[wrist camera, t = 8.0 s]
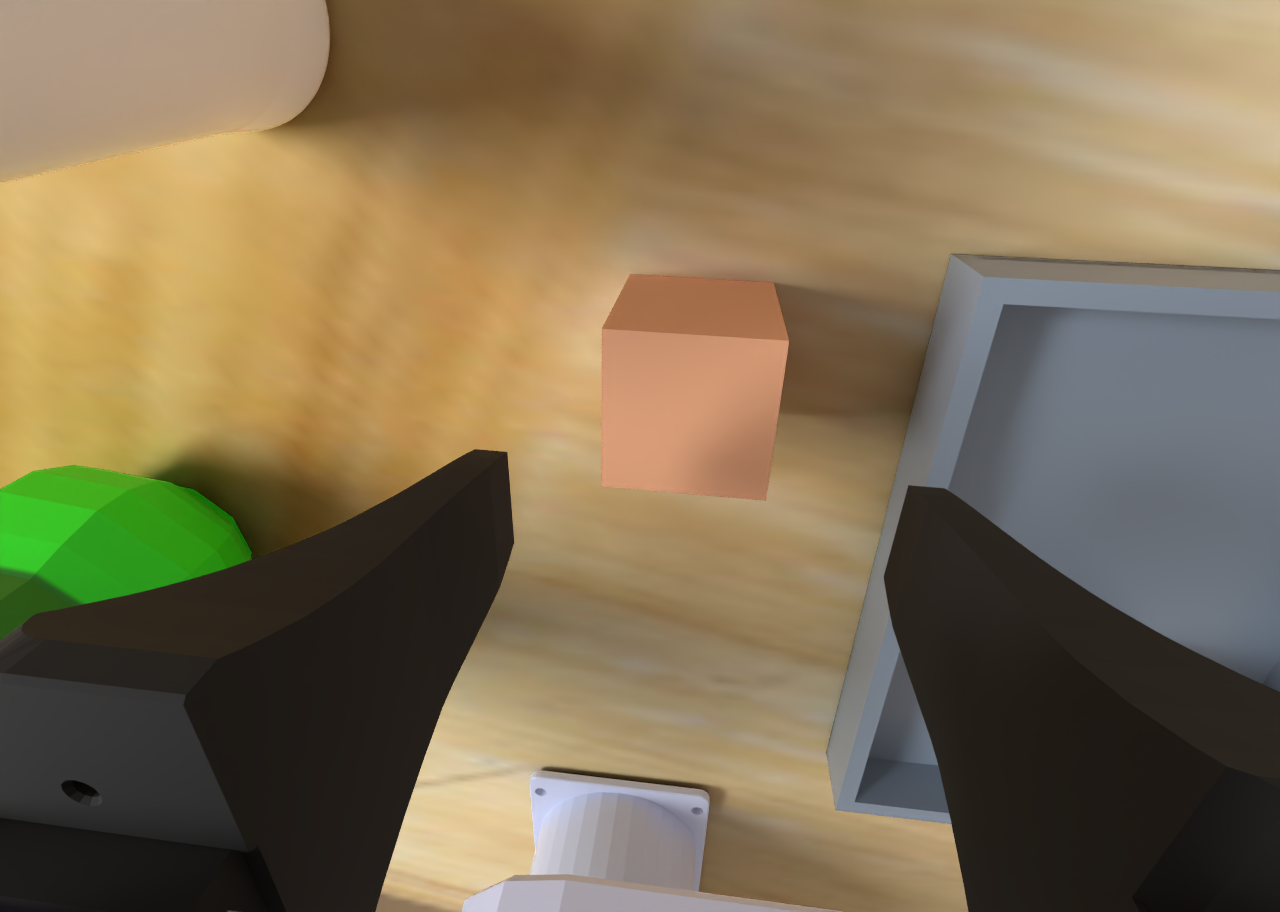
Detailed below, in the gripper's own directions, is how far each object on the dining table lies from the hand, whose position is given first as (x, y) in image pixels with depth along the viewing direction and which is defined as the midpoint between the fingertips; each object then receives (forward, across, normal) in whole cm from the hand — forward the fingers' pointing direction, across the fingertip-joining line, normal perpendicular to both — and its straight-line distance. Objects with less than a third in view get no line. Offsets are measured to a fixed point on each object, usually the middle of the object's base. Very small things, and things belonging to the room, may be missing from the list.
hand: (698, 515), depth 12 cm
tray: (+8, -13, +7) cm, 17 cm away
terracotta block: (+9, 0, 0) cm, 9 cm away
